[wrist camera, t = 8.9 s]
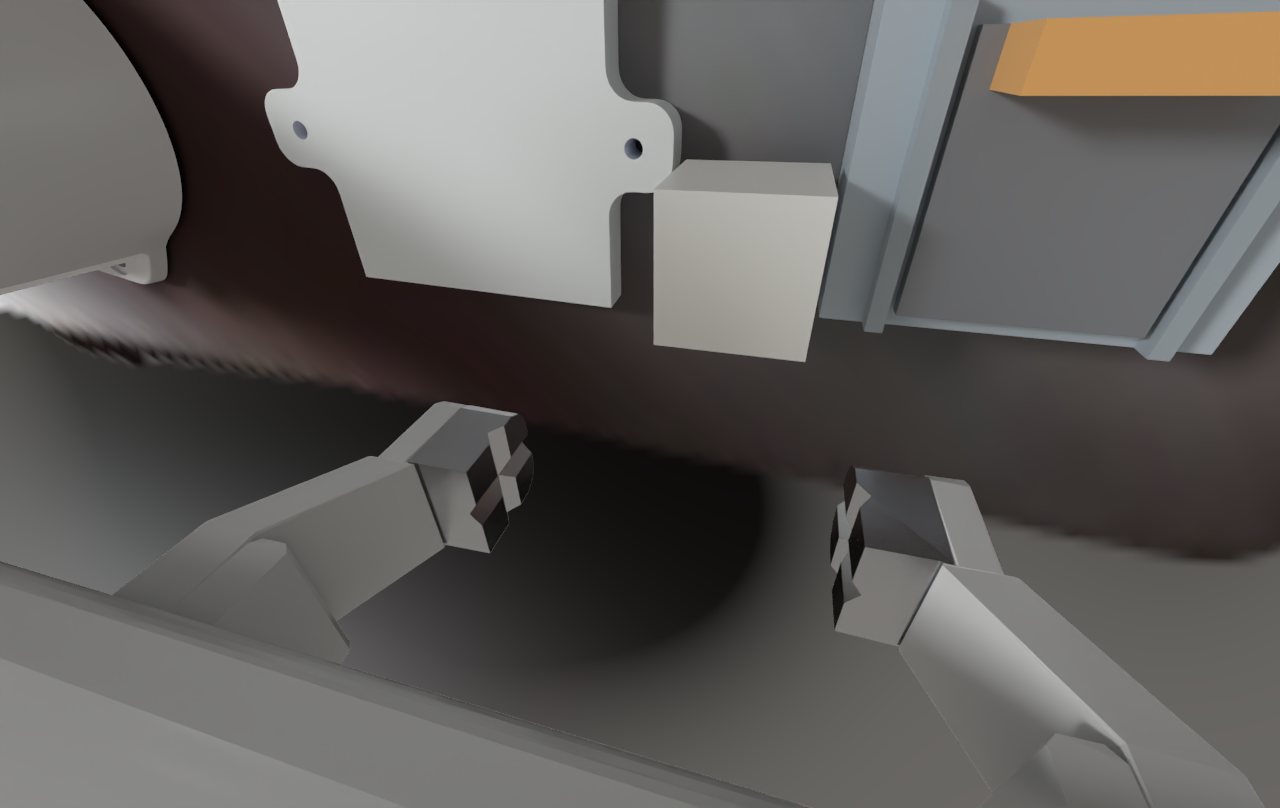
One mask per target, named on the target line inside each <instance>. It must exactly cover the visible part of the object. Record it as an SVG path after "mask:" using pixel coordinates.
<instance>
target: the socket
mask: <svg viewBox="0 0 1280 808" xmlns="http://www.w3.org/2000/svg"><path fill="white" fill-rule="evenodd" d="M1269 11H1280V0H875V1H874V6H873V11H872V16H871V21H870V26H869V31H868V36H867V41H866V46H865V51H864V56H863V61H862V66H861V71H860V76H859V81H858V86H857V91H856V96H855V101H854V106H853V111H852V117H851V122H850V127H849V132H848V137H847V142H846V147H845V152H844V157H843V162H842V167H841V172H840V177H839V182H838V187H837V193H838V202H837V207H836V212H835V217H834V222H833V227H832V232H831V237H830V242H829V247H828V251H827V256H826V261H825V266H824V271H823V276H822V281H821V286H820V291H819V296H818V306H819V318H827V319H838V320H849V321H859V322H862V325H863V330H864V331H865V332H875V333H882V332H883V328H884V325H885V324H891V325H901V326H912V327H923V328H933V329H944V330H954V331H965V332H975V333H986V334H997V335H1007V336H1018V337H1028V338H1039V339H1049V340H1060V341H1071V342H1081V343H1092V344H1102V345H1113V346H1123V347H1134V348H1135V349H1136V350H1137V351H1138V352H1139V353H1140V354H1141V355H1143V356H1144V357H1145V358H1146V359H1149V360H1159V361H1169V362H1170V360H1171V359H1172V357H1173V356H1174V354H1175V353H1176V352H1187V353H1197V354H1208V355H1212V354H1213V352H1214V351H1215V349H1216V348H1217V347H1218V345H1219V344H1220V343H1221V341H1222V340H1223V339H1224V337H1225V336H1226V335H1227V333H1228V332H1229V330H1230V329H1231V328H1232V326H1233V325H1234V324H1235V322H1236V321H1237V320H1238V318H1239V317H1240V315H1241V314H1242V313H1243V311H1244V310H1245V309H1246V307H1247V306H1248V305H1249V303H1250V302H1251V301H1252V299H1253V298H1254V296H1255V295H1256V294H1257V292H1258V291H1259V290H1260V288H1261V287H1262V286H1263V284H1264V283H1265V282H1266V280H1267V279H1268V277H1269V276H1270V275H1271V273H1272V272H1273V271H1274V269H1275V268H1276V267H1277V265H1278V264H1279V262H1280V125H1279V126H1278V128H1277V129H1276V131H1275V132H1274V134H1273V136H1272V137H1271V139H1270V140H1269V142H1268V144H1267V145H1266V147H1265V148H1264V150H1263V151H1262V153H1261V155H1260V156H1259V158H1258V159H1257V161H1256V162H1255V164H1254V166H1253V167H1252V169H1251V170H1250V172H1249V174H1248V175H1247V177H1246V178H1245V180H1244V181H1243V183H1242V185H1241V186H1240V188H1239V189H1238V191H1237V192H1236V194H1235V196H1234V197H1233V199H1232V200H1231V202H1230V204H1229V205H1228V207H1227V208H1226V210H1225V211H1224V213H1223V215H1222V216H1221V218H1220V219H1219V221H1218V222H1217V224H1216V226H1215V227H1214V229H1213V230H1212V232H1211V234H1210V235H1209V237H1208V238H1207V240H1206V241H1205V243H1204V245H1203V246H1202V248H1201V249H1200V251H1199V252H1198V254H1197V256H1196V257H1195V259H1194V260H1193V262H1192V264H1191V265H1190V267H1189V268H1188V270H1187V271H1186V273H1185V275H1184V276H1183V278H1182V279H1181V281H1180V283H1179V284H1178V286H1177V287H1176V289H1175V290H1174V292H1173V294H1172V295H1171V297H1170V298H1169V300H1168V301H1167V303H1166V305H1165V306H1164V308H1163V309H1162V311H1161V313H1160V314H1159V316H1158V317H1157V319H1156V320H1155V322H1154V324H1153V325H1152V327H1151V328H1150V330H1149V331H1148V333H1147V335H1146V336H1145V338H1137V337H1126V336H1115V335H1104V334H1093V333H1082V332H1071V331H1060V330H1049V329H1038V328H1027V327H1016V326H1005V325H994V324H983V323H972V322H961V321H950V320H939V319H928V318H917V317H906V316H896V315H895V312H894V309H893V308H894V305H895V301H896V298H897V294H898V291H899V288H900V284H901V281H902V278H903V274H904V271H905V268H906V264H907V261H908V257H909V254H910V251H911V247H912V244H913V241H914V237H915V234H916V231H917V227H918V224H919V221H920V217H921V214H922V210H923V207H924V204H925V200H926V197H927V194H928V190H929V187H930V184H931V180H932V177H933V173H934V170H935V167H936V163H937V160H938V157H939V153H940V150H941V147H942V143H943V140H944V137H945V133H946V130H947V126H948V123H949V120H950V116H951V113H952V110H953V106H954V103H955V100H956V96H957V93H958V90H959V86H960V83H961V79H962V76H963V73H964V69H965V66H966V63H967V59H968V56H969V53H970V49H971V46H972V42H973V39H974V36H975V32H976V29H977V26H978V25H982V24H1008V23H1018V22H1025V21H1032V20H1039V19H1047V18H1075V17H1107V16H1139V15H1172V14H1204V13H1236V12H1269Z"/></svg>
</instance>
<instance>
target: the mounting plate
mask: <svg viewBox="0 0 1280 808" xmlns="http://www.w3.org/2000/svg"><path fill="white" fill-rule="evenodd" d="M278 3H279V7H280V10H281V13H282V16H283V19H284V22H285V25H286V28H287V31H288V35H289V38H290V41H291V44H292V47H293V50H294V53H295V56H296V59H297V63H298V68H299V78H298V82H297V83H296V85H295V86H294V87H293V88H283V89H273V90H271V91H269V92H268V93H267V95H266V97H265V110H266V113H267V117H268V119H269V122H270V125H271V127H272V130H273V133H274V136H275V138H276V141H277V143H278V145H279V148H280V149H281V151H282V152H283V154H284V155H285V156H286V157H287V158H288V159H289V160H290V161H291V162H292V163H294V164H296V165H298V166H300V167H306V168H315V169H319V170H321V171H323V172H324V173H326V174H327V175H328V176H329V177H330V178H331V179H332V180H333V182H334V183H335V185H336V186H337V188H338V191H339V193H340V196H341V199H342V202H343V206H344V209H345V212H346V215H347V218H348V221H349V224H350V227H351V230H352V234H353V237H354V240H355V243H356V246H357V249H358V252H359V255H360V258H361V262H362V265H363V268H364V271H365V274H366V277H371V278H379V279H387V280H395V281H403V282H411V283H419V284H427V285H435V286H443V287H450V288H458V289H466V290H474V291H482V292H490V293H498V294H506V295H514V296H522V297H529V298H537V299H545V300H553V301H561V302H569V303H577V304H585V305H593V306H600V307H608V308H612V306H613V305H614V304H615V302H616V301H617V300H618V298H619V297H620V296H621V236H620V204H621V199H622V196H623V194H624V193H626V192H639V193H653V192H654V188H656V187H657V186H658V185H659V184H660V183H661V182H662V181H663V180H664V179H665V178H667V177H668V176H669V175H670V174H671V173H672V172H673V171H674V170H675V169H677V168H678V167H679V166H680V160H681V145H682V122H681V118H680V115H679V113H678V112H677V110H676V108H675V107H673V106H672V105H671V104H670V103H669V102H667V101H665V100H661V99H645V98H639V97H636V96H634V95H633V94H631V93H630V92H629V91H628V90H627V89H626V88H625V86H624V84H623V83H622V80H621V77H620V74H619V66H618V0H278ZM636 139H637V140H639V141H640V142H641V144H642V147H643V152H640V151H639V150H638V149H637V147H636V143H635V142H636Z"/></svg>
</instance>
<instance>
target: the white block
mask: <svg viewBox="0 0 1280 808" xmlns="http://www.w3.org/2000/svg"><path fill="white" fill-rule="evenodd" d="M837 202H838V193H837V189H836V184H835V180H834V175H833V171H832V167H831V163H797V162H761V161H726V160H691V159H686V160H685V161H684V162H683V163H682V164H681V165H680V166H679V167H678V168H677V169H675V170H674V171H673V172H672V173H671V174H670V175H669V176H668V177H667V178H665V179H664V180H663V181H662V182H661V183H660V184H659V185H658V186H657V187H656V188H654V345H660V346H669V347H677V348H686V349H695V350H704V351H712V352H721V353H730V354H739V355H747V356H756V357H765V358H774V359H782V360H791V361H800V362H805V361H806V356H807V351H808V346H809V341H810V336H811V331H812V326H813V321H814V316H815V311H816V306H817V301H818V296H819V291H820V286H821V281H822V276H823V271H824V266H825V261H826V256H827V251H828V247H829V242H830V237H831V232H832V227H833V222H834V217H835V212H836V207H837Z"/></svg>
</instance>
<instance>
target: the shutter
mask: <svg viewBox="0 0 1280 808" xmlns="http://www.w3.org/2000/svg"><path fill="white" fill-rule="evenodd" d="M1279 125H1280V11H1269V12H1236V13H1204V14H1172V15H1139V16H1107V17H1075V18H1047V19H1039V20H1032V21H1025V22H1018V23H1008V24H982V25H978V26H977V29H976V32H975V36H974V39H973V42H972V46H971V49H970V53H969V56H968V59H967V63H966V66H965V69H964V73H963V76H962V79H961V83H960V86H959V90H958V93H957V96H956V100H955V103H954V106H953V110H952V113H951V116H950V120H949V123H948V126H947V130H946V133H945V137H944V140H943V143H942V147H941V150H940V153H939V157H938V160H937V163H936V167H935V170H934V173H933V177H932V180H931V184H930V187H929V190H928V194H927V197H926V200H925V204H924V207H923V210H922V214H921V217H920V221H919V224H918V227H917V231H916V234H915V237H914V241H913V244H912V247H911V251H910V254H909V257H908V261H907V264H906V268H905V271H904V274H903V278H902V281H901V284H900V288H899V291H898V294H897V298H896V301H895V305H894V308H893V309H894V312H895V315H896V316H906V317H917V318H928V319H939V320H950V321H961V322H972V323H983V324H994V325H1005V326H1016V327H1027V328H1038V329H1049V330H1060V331H1071V332H1082V333H1093V334H1104V335H1115V336H1126V337H1137V338H1145V336H1146V335H1147V333H1148V331H1149V330H1150V328H1151V327H1152V325H1153V324H1154V322H1155V320H1156V319H1157V317H1158V316H1159V314H1160V313H1161V311H1162V309H1163V308H1164V306H1165V305H1166V303H1167V301H1168V300H1169V298H1170V297H1171V295H1172V294H1173V292H1174V290H1175V289H1176V287H1177V286H1178V284H1179V283H1180V281H1181V279H1182V278H1183V276H1184V275H1185V273H1186V271H1187V270H1188V268H1189V267H1190V265H1191V264H1192V262H1193V260H1194V259H1195V257H1196V256H1197V254H1198V252H1199V251H1200V249H1201V248H1202V246H1203V245H1204V243H1205V241H1206V240H1207V238H1208V237H1209V235H1210V234H1211V232H1212V230H1213V229H1214V227H1215V226H1216V224H1217V222H1218V221H1219V219H1220V218H1221V216H1222V215H1223V213H1224V211H1225V210H1226V208H1227V207H1228V205H1229V204H1230V202H1231V200H1232V199H1233V197H1234V196H1235V194H1236V192H1237V191H1238V189H1239V188H1240V186H1241V185H1242V183H1243V181H1244V180H1245V178H1246V177H1247V175H1248V174H1249V172H1250V170H1251V169H1252V167H1253V166H1254V164H1255V162H1256V161H1257V159H1258V158H1259V156H1260V155H1261V153H1262V151H1263V150H1264V148H1265V147H1266V145H1267V144H1268V142H1269V140H1270V139H1271V137H1272V136H1273V134H1274V132H1275V131H1276V129H1277V128H1278V126H1279Z"/></svg>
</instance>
